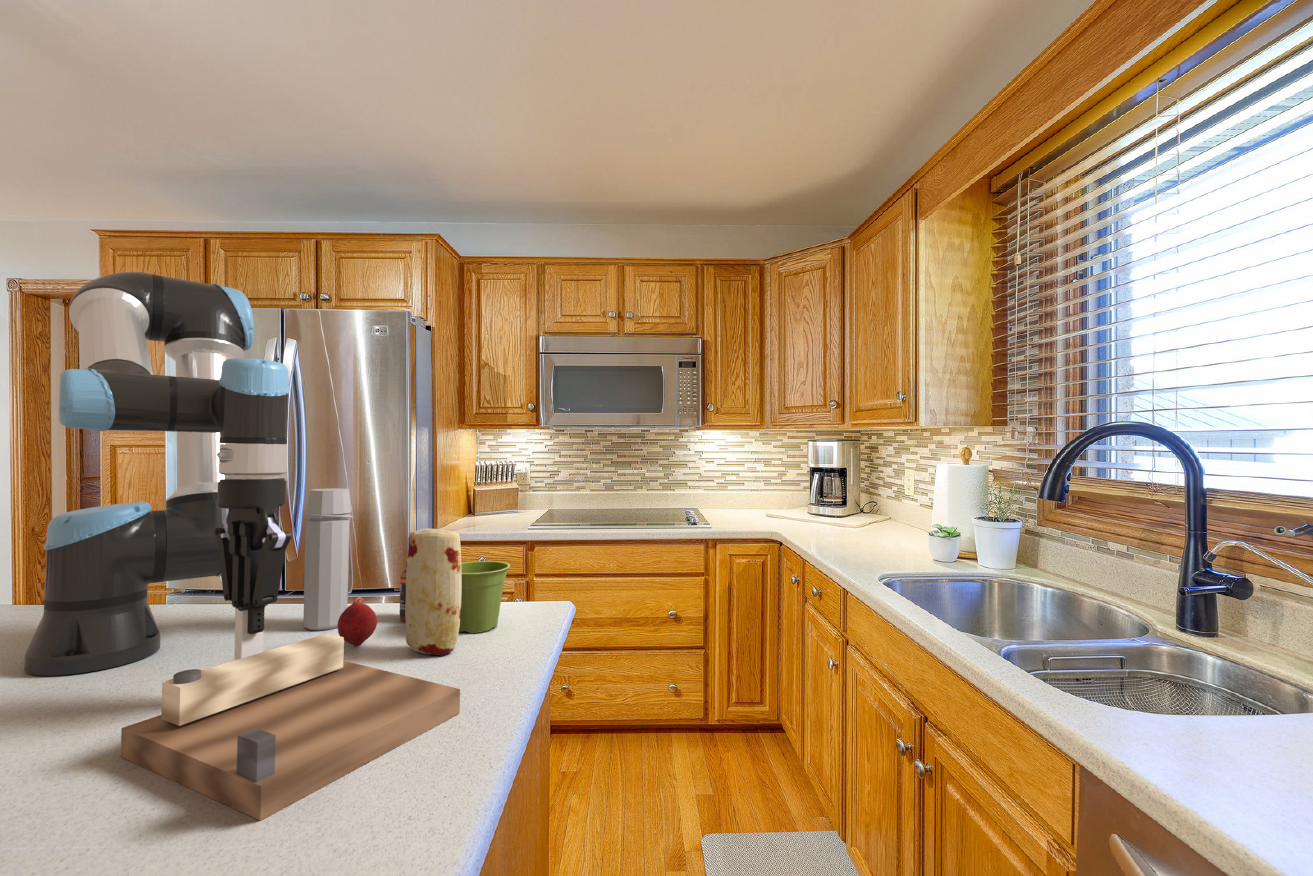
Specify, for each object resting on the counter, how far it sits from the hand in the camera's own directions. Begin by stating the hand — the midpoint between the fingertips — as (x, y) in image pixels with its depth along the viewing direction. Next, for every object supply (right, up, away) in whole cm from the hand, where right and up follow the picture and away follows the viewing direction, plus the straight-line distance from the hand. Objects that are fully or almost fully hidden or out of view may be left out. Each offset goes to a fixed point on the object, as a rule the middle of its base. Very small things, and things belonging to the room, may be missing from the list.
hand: (248, 656), depth 78 cm
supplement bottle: (+7, -6, +36) cm, 38 cm away
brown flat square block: (+13, -5, -10) cm, 17 cm away
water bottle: (-7, -6, +32) cm, 33 cm away
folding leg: (+6, -2, -6) cm, 9 cm away
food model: (+17, -6, +18) cm, 26 cm away
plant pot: (+20, -6, +31) cm, 38 cm away
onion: (+4, -6, +20) cm, 21 cm away
